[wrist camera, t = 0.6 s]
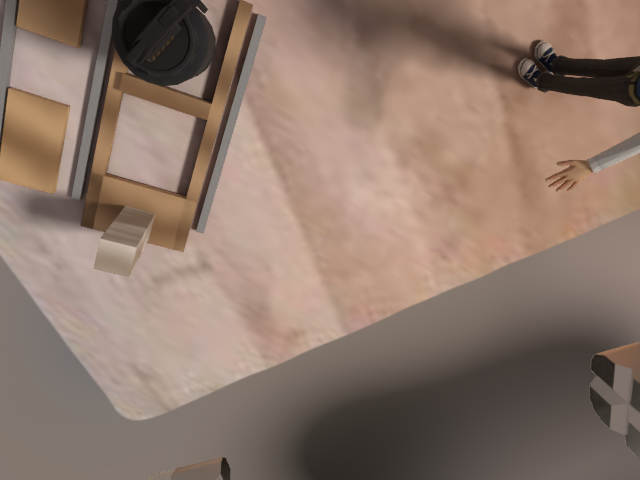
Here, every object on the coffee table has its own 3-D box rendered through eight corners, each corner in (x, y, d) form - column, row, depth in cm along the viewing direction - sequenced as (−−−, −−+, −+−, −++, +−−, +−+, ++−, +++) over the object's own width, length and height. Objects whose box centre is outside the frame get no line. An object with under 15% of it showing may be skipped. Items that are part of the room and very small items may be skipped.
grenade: (194, 92, 44) (171, 109, 31) (132, 49, 42) (77, 47, 28) (233, 28, 43) (228, 16, 29) (171, -20, 40) (133, -57, 27)
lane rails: (19, -85, 37) (15, -87, 37) (266, 17, 43) (266, 17, 42) (-12, 173, 44) (-15, 175, 44) (203, 231, 50) (203, 233, 49)
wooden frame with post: (136, -43, 39) (103, -73, 30) (252, 5, 42) (254, -8, 33) (83, 222, 47) (45, 262, 38) (184, 248, 50) (171, 291, 41)
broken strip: (34, -86, 37) (30, -88, 36) (98, -59, 39) (95, -61, 38) (1, 176, 45) (-3, 179, 44) (55, 191, 46) (52, 193, 45)
